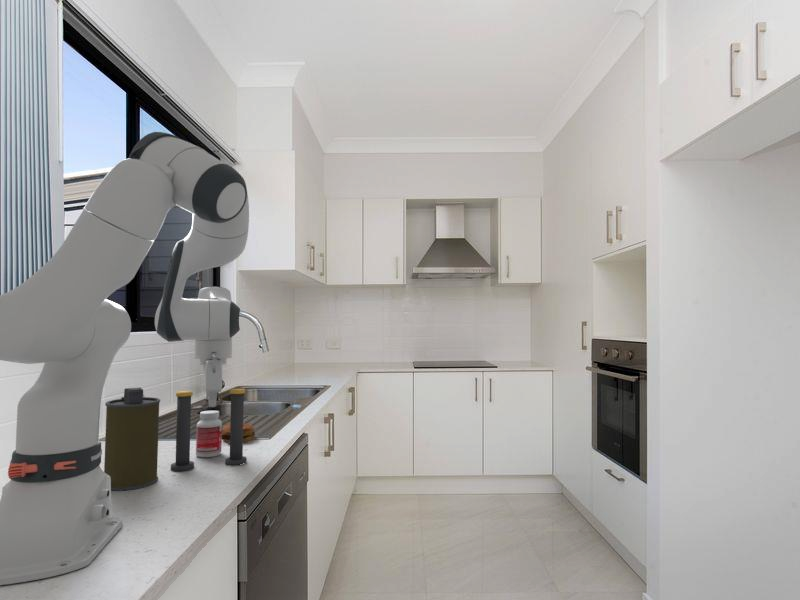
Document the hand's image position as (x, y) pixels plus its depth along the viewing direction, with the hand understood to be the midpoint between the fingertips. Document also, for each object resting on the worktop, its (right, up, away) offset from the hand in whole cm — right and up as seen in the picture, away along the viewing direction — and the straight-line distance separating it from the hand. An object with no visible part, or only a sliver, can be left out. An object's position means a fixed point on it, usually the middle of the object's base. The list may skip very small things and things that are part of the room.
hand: (212, 406), depth 123 cm
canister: (-10, -13, -19) cm, 25 cm away
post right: (+7, -13, -4) cm, 15 cm away
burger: (0, -14, +20) cm, 24 cm away
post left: (-4, -13, -8) cm, 16 cm away
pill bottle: (-2, -14, +3) cm, 14 cm away
